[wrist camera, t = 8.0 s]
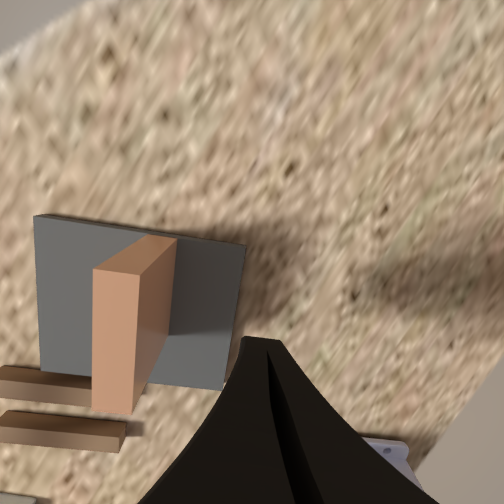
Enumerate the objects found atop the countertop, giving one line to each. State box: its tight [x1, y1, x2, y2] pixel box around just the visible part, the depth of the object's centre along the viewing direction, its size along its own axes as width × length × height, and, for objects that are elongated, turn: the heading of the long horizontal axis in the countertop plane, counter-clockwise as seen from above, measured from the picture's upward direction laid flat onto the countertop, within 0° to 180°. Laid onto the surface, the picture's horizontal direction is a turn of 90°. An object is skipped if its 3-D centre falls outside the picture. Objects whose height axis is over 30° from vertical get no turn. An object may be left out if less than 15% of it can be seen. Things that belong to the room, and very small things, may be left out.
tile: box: [92, 234, 177, 415], centre depth 11 cm, size 5×1×5 cm, turn 171°
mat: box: [33, 214, 246, 391], centre depth 14 cm, size 10×9×1 cm
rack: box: [0, 366, 126, 453], centre depth 16 cm, size 7×4×1 cm, turn 81°
